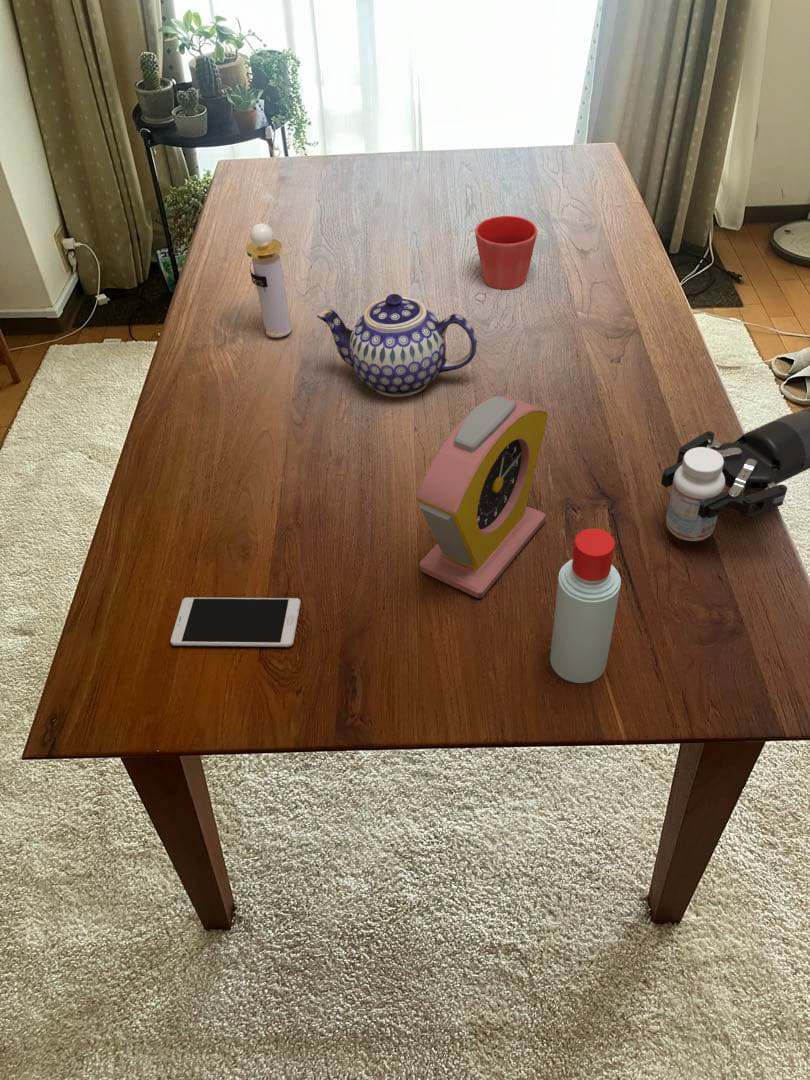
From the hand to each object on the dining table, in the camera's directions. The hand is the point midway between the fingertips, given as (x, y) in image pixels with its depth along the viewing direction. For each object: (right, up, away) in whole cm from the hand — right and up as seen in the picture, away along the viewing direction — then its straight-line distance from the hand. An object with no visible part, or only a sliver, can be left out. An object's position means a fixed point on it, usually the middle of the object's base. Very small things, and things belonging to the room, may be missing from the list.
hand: (682, 495), depth 109 cm
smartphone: (-55, -16, 0) cm, 57 cm away
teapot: (-35, +21, +35) cm, 53 cm away
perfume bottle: (-56, +30, +46) cm, 79 cm away
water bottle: (-14, -19, -6) cm, 25 cm away
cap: (-15, -8, -17) cm, 24 cm away
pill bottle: (+2, -4, +5) cm, 7 cm away
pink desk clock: (-24, -6, +8) cm, 26 cm away
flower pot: (-16, +42, +55) cm, 71 cm away
